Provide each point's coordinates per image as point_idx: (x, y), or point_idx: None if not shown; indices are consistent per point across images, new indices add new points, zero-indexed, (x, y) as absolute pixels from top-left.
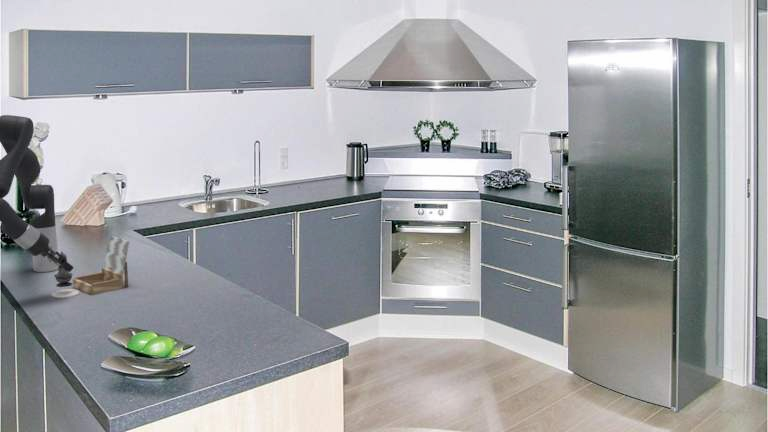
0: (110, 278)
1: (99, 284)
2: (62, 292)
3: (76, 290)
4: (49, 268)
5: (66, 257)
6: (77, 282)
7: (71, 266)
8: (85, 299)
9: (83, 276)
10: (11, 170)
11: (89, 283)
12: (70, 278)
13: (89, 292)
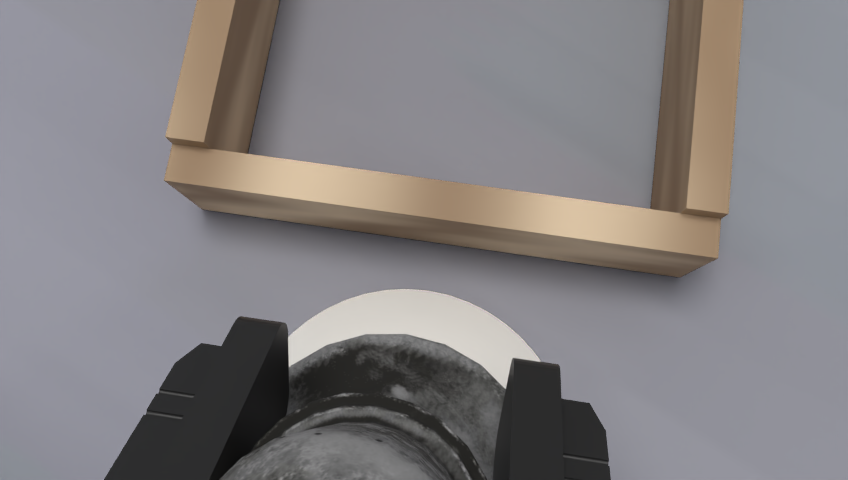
0: None
1: (726, 132)
2: None
3: (431, 312)
4: None
5: (434, 471)
6: (307, 205)
7: (604, 437)
8: (822, 443)
9: (224, 50)
10: None
11: (268, 34)
12: None
13: (643, 268)
